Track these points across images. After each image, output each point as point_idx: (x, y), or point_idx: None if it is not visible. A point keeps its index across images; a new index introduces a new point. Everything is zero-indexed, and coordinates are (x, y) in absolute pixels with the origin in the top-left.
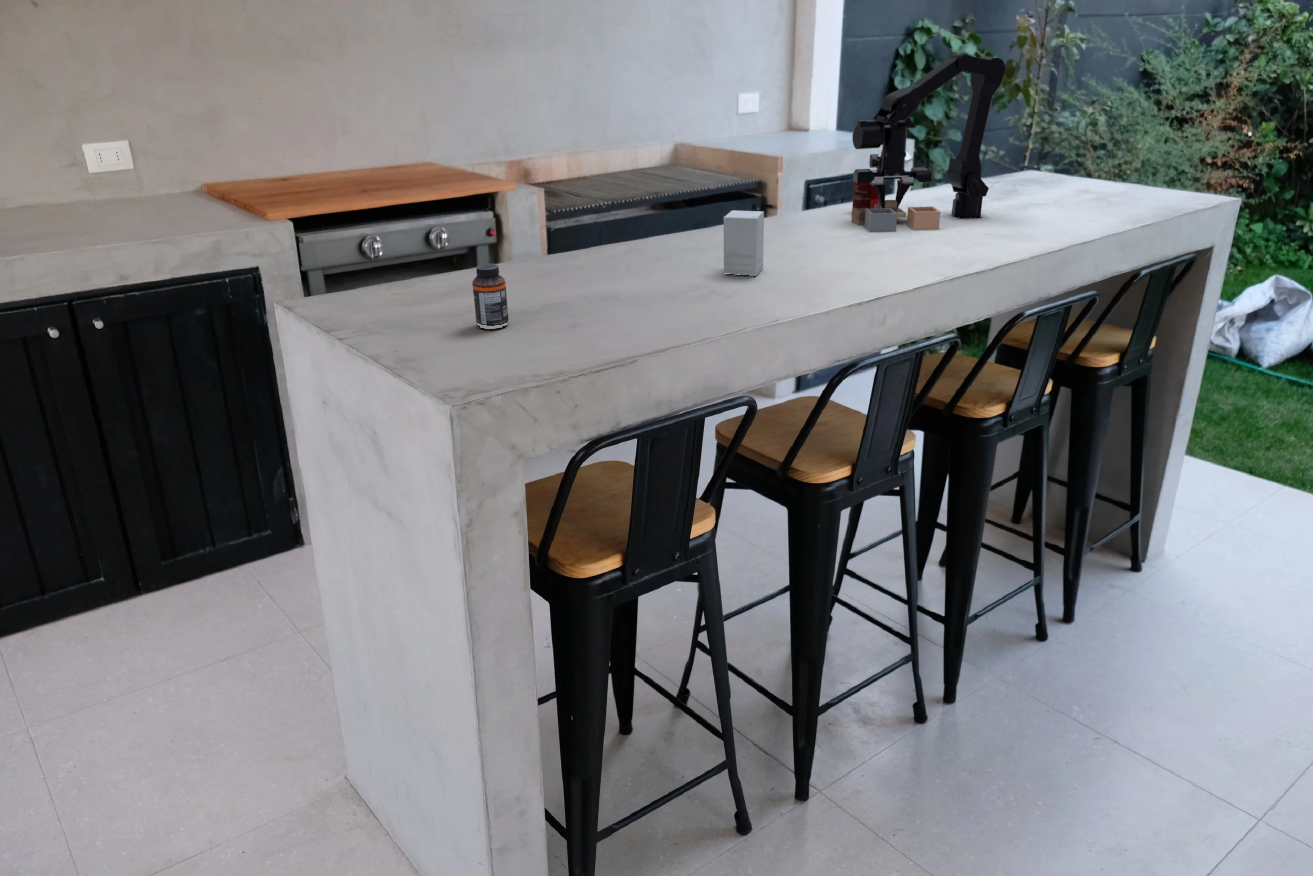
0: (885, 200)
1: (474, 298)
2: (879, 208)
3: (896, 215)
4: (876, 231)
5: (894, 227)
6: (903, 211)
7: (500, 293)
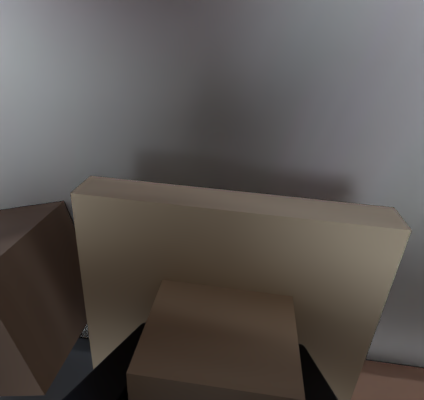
0: (159, 397)
1: None
2: (151, 207)
3: None
4: None
5: None
6: (351, 385)
7: None
